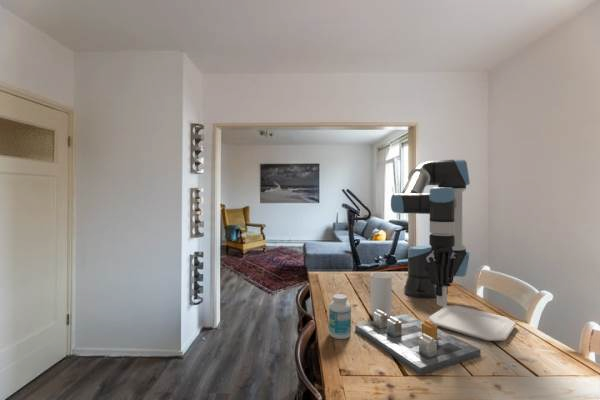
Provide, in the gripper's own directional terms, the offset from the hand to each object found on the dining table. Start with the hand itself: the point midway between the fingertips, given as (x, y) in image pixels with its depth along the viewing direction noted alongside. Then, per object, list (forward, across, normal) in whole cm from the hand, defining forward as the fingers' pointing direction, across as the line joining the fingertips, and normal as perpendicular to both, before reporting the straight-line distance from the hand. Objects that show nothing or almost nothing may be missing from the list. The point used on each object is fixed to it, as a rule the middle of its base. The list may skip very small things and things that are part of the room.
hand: (441, 305), depth 100 cm
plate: (+13, -20, -4) cm, 24 cm away
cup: (+12, +4, -26) cm, 29 cm away
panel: (+12, +10, -3) cm, 16 cm away
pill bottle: (+12, +29, -16) cm, 36 cm away
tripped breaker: (+9, +6, +1) cm, 11 cm away
